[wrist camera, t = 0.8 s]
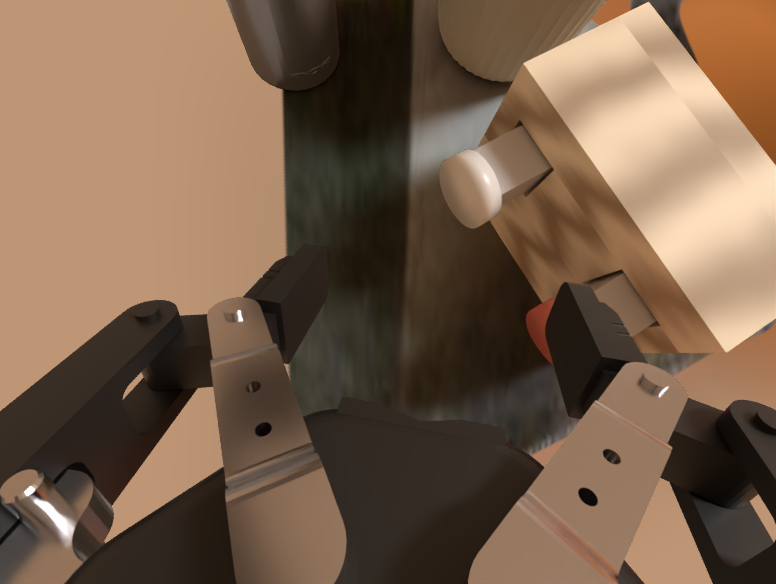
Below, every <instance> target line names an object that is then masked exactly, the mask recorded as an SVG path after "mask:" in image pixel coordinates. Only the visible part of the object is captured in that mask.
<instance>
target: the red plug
mask: <svg viewBox="0 0 776 584" xmlns="http://www.w3.org/2000/svg"><path fill="white" fill-rule="evenodd" d="M588 285H589V286H591V288H592V289H593V291H594V293H595V295H596V296H597V298H598V300H599V302H603V303H606V304H607V305H608V306H609V307H610V308H612V309H613V310H614V311H615V312H616V313H617V314H618V315H619V317H620V319H621V320H622V322H623V323H624V327H626V328H627V330H628V332H629V333H630V335H629V336H631V337H633V336H634V335H636V334H638V333H639V332H641V331H642V330H644V329H645V328H647V327H648V326H650V325H651V324H653V323H654V322H656V321H657V320H656V318H655V317H654V315H653V314H652V312H651V311H650V310H649V308H648V307H647V305H646V304H645V302H644V301H643V299H642V298H641V296H640V295H639V293H638V292H637V291H636V289H635V288H634V286H633V285H632V283H631V282H630V280H629V279H628V277H627V276H626V274H625V273H624V271H623V270H622V269H621V270H618V271H615V272H612V273H609V274H606V275H603V276H601V277H599V278H598V279H596V280H594V281H593V282H591V283H589V284H588ZM554 301H555V298H550V299H548V300H546V301H545V302H543V303H541V304H540V305H538V306H537V307H535V308H533V309H532V310H530V311H529V312H528V313H527V315H526V325H527V329H528V331H529V334H530V336H531V338H532V340H533V342H534V343H535V345H536V346H537V348H538V349H539V351H540V352H541V353H542V354H543V356H544V357H545V358H546V359H547V360H548V361H549V362H550V363H551V364H552V365H553V362H552V358H551V355H550V351H549V348H548V345H547V341H546V338H545V326H546V321H547V318H548V316H549V313H550V311H551V308H552V306H553V303H554ZM553 366H554V365H553Z"/></svg>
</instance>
